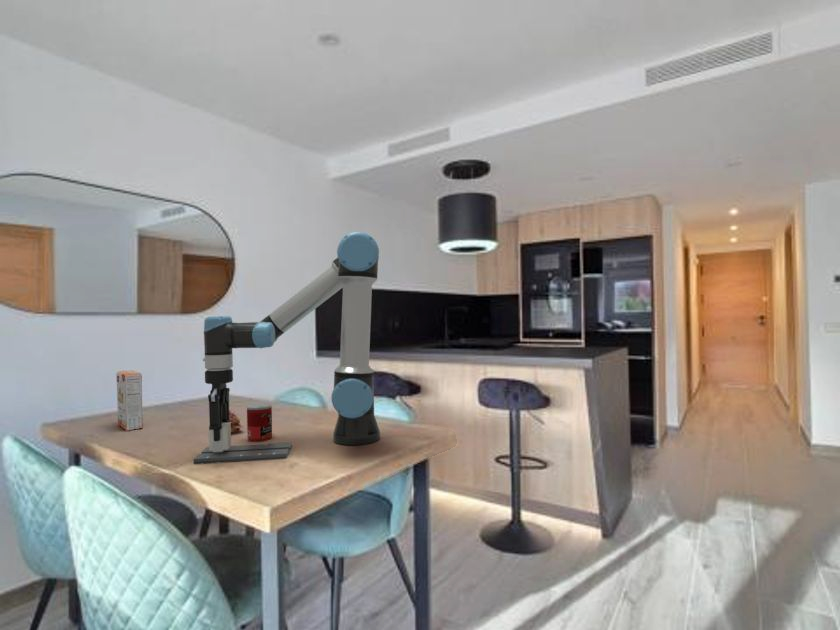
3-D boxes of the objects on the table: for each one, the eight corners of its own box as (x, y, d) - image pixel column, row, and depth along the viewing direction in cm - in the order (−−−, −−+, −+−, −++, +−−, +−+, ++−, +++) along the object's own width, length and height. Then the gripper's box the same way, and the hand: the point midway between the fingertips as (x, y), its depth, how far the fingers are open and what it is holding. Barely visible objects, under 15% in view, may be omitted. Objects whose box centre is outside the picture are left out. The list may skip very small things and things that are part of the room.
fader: (231, 451, 140) (230, 422, 140) (227, 454, 136) (227, 425, 136) (213, 452, 139) (212, 423, 139) (209, 455, 135) (208, 426, 135)
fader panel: (291, 447, 146) (291, 442, 146) (286, 458, 134) (286, 453, 134) (206, 451, 143) (206, 447, 143) (193, 464, 131) (193, 458, 131)
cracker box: (116, 425, 182) (115, 371, 182) (134, 423, 186) (133, 370, 186) (124, 431, 172) (123, 374, 172) (143, 428, 176) (142, 372, 176)
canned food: (264, 442, 153) (264, 408, 153) (242, 441, 155) (241, 407, 155) (276, 436, 160) (276, 403, 160) (255, 435, 162) (254, 403, 162)
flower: (207, 432, 161) (220, 413, 161) (212, 421, 170) (224, 403, 170) (232, 445, 164) (245, 426, 164) (236, 433, 173) (248, 416, 173)
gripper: (213, 366, 146) (215, 442, 146) (195, 373, 129) (197, 458, 129) (239, 365, 147) (240, 441, 147) (224, 372, 130) (226, 457, 130)
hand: (220, 449), depth 138 cm, fingers closed on fader, 4 cm apart
